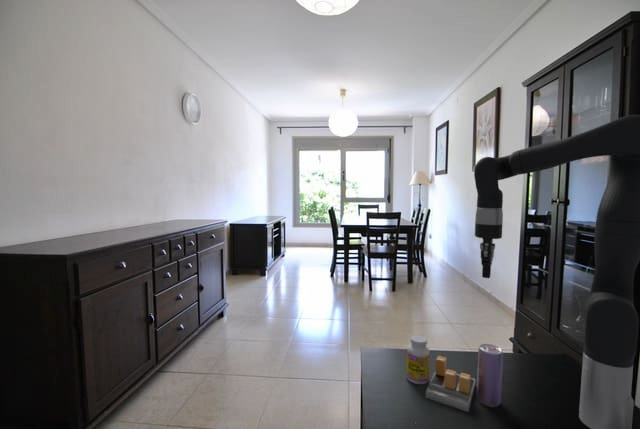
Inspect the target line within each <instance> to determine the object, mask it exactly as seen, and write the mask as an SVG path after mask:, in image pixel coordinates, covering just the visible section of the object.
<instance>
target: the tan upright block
mask: <svg viewBox="0 0 640 429" xmlns="http://www.w3.org/2000/svg"><path fill="white" fill-rule="evenodd" d="M459 374H460V377H459V391H460V392H463V393H466V394H469V393H470V379H471V378H472V377H471V376H472V375H471V374H468V373H464V372H462V371H461V372H460V373H459Z"/></svg>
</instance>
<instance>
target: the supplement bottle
mask: <svg viewBox="0 0 640 429" xmlns="http://www.w3.org/2000/svg"><path fill="white" fill-rule="evenodd" d="M410 337H411V338H410V344H408V345H407V347H406V349H407V350H406V368H405V369H406V370H405V371H406V373H405V375H406V378H407V380H408V381H409V382H410V383H413V384H416V385H425V384H427V383H429V382H428V381H429V380H430V379H429V378H430V376H429V375H430V354H431V352H430V348H429V347H428V346H427V344H428V339H427V338H426V337H424V336H422V335H416V334H415V335H412V336H410Z"/></svg>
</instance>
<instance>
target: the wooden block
mask: <svg viewBox="0 0 640 429" xmlns="http://www.w3.org/2000/svg"><path fill="white" fill-rule="evenodd" d="M446 370H447V357H445V356H441V355H437V357H436V359H435V371H436V374H437V375H441V376H445V372H446Z"/></svg>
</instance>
